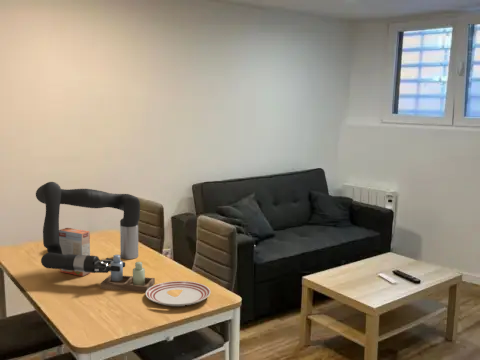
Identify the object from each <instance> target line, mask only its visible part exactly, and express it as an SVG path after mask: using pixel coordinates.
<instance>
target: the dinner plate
mask: <svg viewBox="0 0 480 360" xmlns="http://www.w3.org/2000/svg"><path fill="white" fill-rule="evenodd" d="M175 290H178V291H181V292H180V293H179V295H177V296H172V295H170V294H169V293H168V292H170V291H175ZM211 292H212V291H211V289H210V288H209V287H208V285H205V284H202V283H199V282H196V281H195V282H194V281H188V280H174V281H166V282H161V283H156V284H154V285H153V286H152V287H150V288H149V289H148V290H147V291H146V292H145V296H146V298H147V299H148V300H149V301H151V302H154V303H156V304H159V305H162V306H170V307H186V306H185V305H187V306H190V305H191V306H192V305H195V304H197V303H200V302H203V301H204V300H206V299H207V298H208V297H210V295H211Z"/></svg>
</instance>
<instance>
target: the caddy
mask: <svg viewBox="0 0 480 360" xmlns="http://www.w3.org/2000/svg"><path fill="white" fill-rule="evenodd" d="M155 283H156V279H155V277H147V276H145V286H140V285H133V275H131V276H130V275H123V280H121V281H111V274H110V275H108V276H107V277H106V278H104V279H103V280H102V281H101V282H100V289H104V290H113V291H115V290H116V291H125V292H126V291H128V292H136V293H137V292H139V293H146V291H147V290H148V289H149V288H150V287H152V286H154V285H156V284H155Z"/></svg>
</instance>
